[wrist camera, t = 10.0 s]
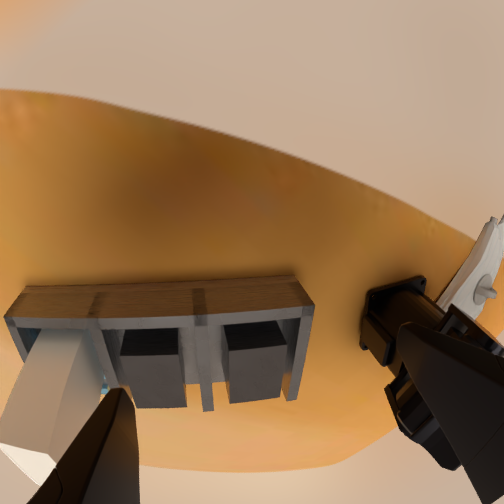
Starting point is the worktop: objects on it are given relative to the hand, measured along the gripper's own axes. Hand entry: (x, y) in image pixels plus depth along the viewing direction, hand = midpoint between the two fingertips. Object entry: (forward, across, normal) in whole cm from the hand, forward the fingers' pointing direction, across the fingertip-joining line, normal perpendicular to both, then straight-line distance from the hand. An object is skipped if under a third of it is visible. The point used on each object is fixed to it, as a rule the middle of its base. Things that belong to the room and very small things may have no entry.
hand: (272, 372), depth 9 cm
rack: (+12, +6, +7) cm, 15 cm away
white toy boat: (+12, -23, +10) cm, 28 cm away
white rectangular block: (+11, +12, +6) cm, 18 cm away
